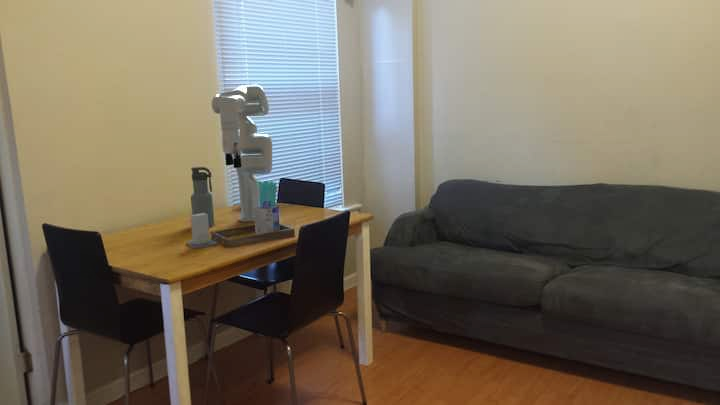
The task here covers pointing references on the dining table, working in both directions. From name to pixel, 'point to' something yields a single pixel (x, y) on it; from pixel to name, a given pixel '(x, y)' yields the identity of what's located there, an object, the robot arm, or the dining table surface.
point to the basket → (267, 192)
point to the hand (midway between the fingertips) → (233, 166)
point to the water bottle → (202, 194)
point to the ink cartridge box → (266, 218)
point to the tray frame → (221, 234)
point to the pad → (195, 246)
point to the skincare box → (200, 228)
